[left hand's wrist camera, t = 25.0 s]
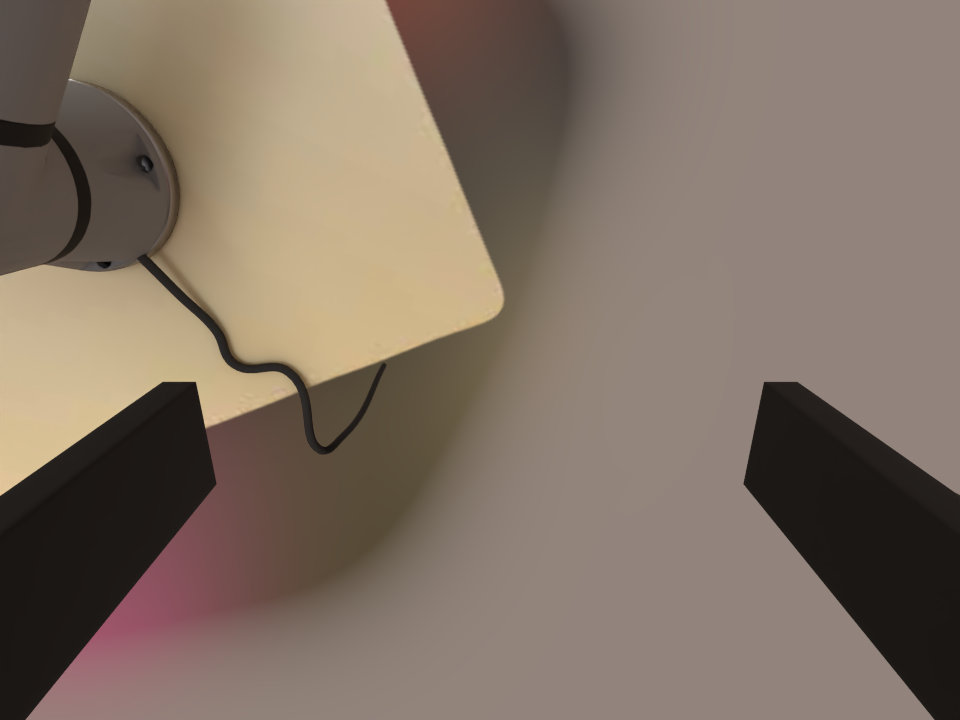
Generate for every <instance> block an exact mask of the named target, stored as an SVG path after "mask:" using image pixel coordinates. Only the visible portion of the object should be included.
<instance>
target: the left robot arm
mask: <svg viewBox="0 0 960 720" xmlns="http://www.w3.org/2000/svg"><path fill="white" fill-rule="evenodd" d="M90 2H91V0H0V276H1V275H4V274H8V273H12V272H16V271H19V270H23V269H27V268H31V267H35V266H38V265H43V264H45V265H51V266H57V267H64V268H70V269H76V270H83V271H95V272H101V271H111V270H117V269H120V268H124V267H127V266H130V265H134V264H136V263H139V262H140V263H141V264H142V265H143V266H144V267H145V268H146V269H147V270H148V271H149V272H150V273H151V274H152V275H153V276H154V277H155V278H156V279H157V280H158V281H159V282H160V283H162V284H163V285H164V286H165V287H166V288H167V289H168V290H169V291H170V292H171V293H172V294H173V295H174V296H175V297H176V298H177V299H178V300H179V301H180V302H181V303H182V304H183V305H184V306H185V307H187V308H188V309H189V310H190V311H191V312H192V313H194V314H195V315H196V316H197V317H198V318H199V319H200V320H201V321H202V322H203V323H204V324H205V325H206V326H207V327H208V328H209V330H210V331H211V332H212V333H213V335H214V336H215V338H216V340H217V343H218V346H219V349H220V352H221V355H222V357H223V359H224V360H225V362H226V363H227V364H228V365H229V366H230V367H232V368H233V369H235V370H237V371H240V372H244V373H260V372H268V371H277V372H281V373H283V374H285V375H286V376H287V377H288V378H289V379H291V380H292V382H293V383H294V384H295V386H296V388H297V390H298V392H299V395H300V398H301V402H302V408H303V417H304V426H305V433H306V437H307V441H308V443H309V445H310V447H311V448H312V449H313V450H314V451H316V452H317V453H319V454H323V455H324V454H329V453H331V452H333V451H334V450H335V449H336V448H337V447H338V446H339V445H340V444H341V443H342V441H343V440H344V439H345V438H346V437H347V436H348V435H349V434H350V433H351V432H352V431H353V430H354V429H355V427H356V426H357V425H358V424H359V422H360V421H361V419H362V418H363V416H364V414H365V413H366V411H367V409H368V407H369V405H370V403H371V400H372V398H373V396H374V393H375V391H376V388H377V386H378V383H379V381H380V379H381V376H382V374H383V372H384V370H385V368H386V364H385V363H382V365H381V367H380V368H379V370H378V372H377V374H376V376H375V378H374V381H373V383H372V385H371V388H370V390H369V392H368V395H367V397H366V399H365V401H364V403H363V405H362V407H361V409H360V411H359V412H358V414H357V415H356V417H355V418H354V420H353V421H352V422H351V423H350V425H349V426H348V427H347V428H346V429H345V430H344V431H343V432H342V433H341V434H340V435H339V436H338V437H337V438H336V439H335V440H334V441H333V442H332V443H331V444H330V445H328V446H326V447H323V446H321V445H320V444H319V443H318V442H317V440H316V438H315V435H314V430H313V423H312V413H311V405H310V400H309V395H308V392H307V389H306V387H305V385H304V383H303V381H302V380H301V378H300V377H299V376H298V375H297V374H296V373H295V372H294V371H293V370H292V369H291V368H289V367H288V366H285V365H283V364H277V363H268V364H259V365H245V364H242V363H240V362H238V361H237V360H235V359H234V358H233V356H232V355H231V353H230V351H229V348H228V344H227V341H226V338H225V336H224V334H223V332H222V331H221V329H220V328H219V326H218V325H217V324H216V323H215V322H214V320H213V319H212V318H211V317H210V316H209V315H208V314H207V313H206V312H205V311H204V310H203V309H201V308H200V307H199V306H198V305H197V304H196V303H195V302H194V301H192V300H191V299H190V298H189V297H188V296H187V295H186V294H185V293H184V292H183V291H182V290H181V289H180V288H179V287H178V286H177V285H176V284H175V283H174V282H173V281H172V280H171V279H170V278H169V277H168V276H167V275H166V274H165V273H164V272H163V271H162V270H161V269H160V268H159V267H158V266H157V265H156V264H155V263H154V262H153V261H152V260H151V259H150V258H149V257H150V256H152V255H153V254H154V253H155V252H157V251H158V250H159V249H160V248H161V247H162V246H163V244H164V243H165V242H166V240H167V239H168V238H169V236H170V234H171V232H172V230H173V228H174V225H175V223H176V219H177V215H178V209H179V185H178V179H177V174H176V170H175V167H174V164H173V161H172V159H171V156H170V154H169V152H168V150H167V148H166V146H165V144H164V142H163V141H162V139H161V137H160V136H159V134H158V133H157V131H156V130H155V129H154V127H153V126H152V125H151V124H150V123H149V121H148V120H147V119H146V118H145V117H144V116H143V115H142V114H141V113H140V112H139V111H138V110H137V109H135V108H134V107H133V106H132V105H131V104H129V103H128V102H127V101H125V100H124V99H122V98H121V97H119V96H117V95H116V94H114V93H112V92H110V91H108V90H106V89H104V88H102V87H99V86H96V85H94V84H90V83H86V82H82V81H77V80H72V79H69V75H70V72H71V68H72V65H73V61H74V58H75V54H76V51H77V47H78V44H79V41H80V37H81V34H82V30H83V27H84V23H85V20H86V16H87V13H88V9H89V6H90ZM215 485H216V479H215V474H214V469H213V464H212V459H211V454H210V449H209V445H208V440H207V435H206V430H205V425H204V420H203V415H202V410H201V405H200V400H199V395H198V390H197V385H196V382H162V383H161V384H159V385H158V386H156V387H155V388H153V389H152V390H151V391H149V392H148V393H146V394H145V395H143V396H142V397H141V398H139V399H138V400H136V401H135V402H133V403H132V404H131V405H129V406H128V407H126V408H125V409H124V410H122V411H121V412H119V413H118V414H116V415H115V416H114V417H112V418H111V419H109V420H108V421H106V422H105V423H104V424H102V425H101V426H99V427H98V428H96V429H95V430H94V431H92V432H91V433H89V434H88V435H87V436H85V437H84V438H82V439H81V440H79V441H78V442H77V443H75V444H74V445H72V446H71V447H69V448H68V449H67V450H65V451H64V452H62V453H61V454H59V455H58V456H57V457H55V458H54V459H52V460H51V461H49V462H48V463H47V464H45V465H44V466H42V467H41V468H40V469H38V470H37V471H35V472H34V473H32V474H31V475H30V476H28V477H27V478H25V479H24V480H22V481H21V482H20V483H18V484H17V485H15V486H14V487H12V488H11V489H10V490H8V491H7V492H5V493H4V494H3V495H1V496H0V720H26V718H27V717H28V716H29V715H30V713H31V712H32V711H33V710H34V708H35V707H36V706H37V705H38V704H39V702H40V701H41V700H42V699H43V697H44V696H45V695H46V694H47V692H48V691H49V690H50V689H51V687H52V686H53V685H54V684H55V682H56V681H57V680H58V679H59V678H60V676H61V675H62V674H63V673H64V671H65V670H66V669H67V668H68V667H69V665H70V664H71V663H72V662H73V660H74V659H75V658H76V657H77V655H78V654H79V653H80V652H81V650H82V649H83V648H84V647H85V646H86V644H87V643H88V642H89V641H90V639H91V638H92V637H93V636H94V634H95V633H96V632H97V631H98V629H99V628H100V627H101V626H102V625H103V623H104V622H105V621H106V620H107V618H108V617H109V616H110V615H111V613H112V612H113V611H114V610H115V609H116V607H117V606H118V605H119V604H120V602H121V601H122V600H123V599H124V597H125V596H126V595H127V594H128V592H129V591H130V590H131V589H132V588H133V586H134V585H135V584H136V583H137V581H138V580H139V579H140V578H141V577H142V575H143V574H144V573H145V572H146V570H147V569H148V568H149V567H150V565H151V564H152V563H153V562H154V560H155V559H156V558H157V557H158V555H159V554H160V553H161V552H162V551H163V549H164V548H165V547H166V546H167V544H168V543H169V542H170V541H171V540H172V538H173V537H174V536H175V535H176V533H177V532H178V531H179V530H180V528H181V527H182V526H183V525H184V523H185V522H186V521H187V520H188V519H189V517H190V516H191V515H192V514H193V512H194V511H195V510H196V509H197V507H198V506H199V505H200V504H201V503H202V501H203V500H204V499H205V498H206V496H207V495H208V494H209V493H210V491H211V490H212V489H213V488H214V486H215ZM744 485H745V486H746V488H747V489H748V490H749V491H750V493H751V494H752V495H753V496H754V498H755V499H756V500H757V501H758V502H759V504H760V505H761V506H762V507H763V509H764V510H765V511H766V512H767V514H768V515H769V516H770V517H771V519H772V520H773V521H774V522H775V523H776V525H777V526H778V527H779V528H780V530H781V531H782V532H783V533H784V535H785V536H786V537H787V538H788V540H789V541H790V542H791V543H792V544H793V546H794V547H795V548H796V549H797V551H798V552H799V553H800V554H801V556H802V557H803V558H804V559H805V560H806V562H807V563H808V564H809V565H810V567H811V568H812V569H813V570H814V572H815V573H816V574H817V575H818V576H819V578H820V579H821V580H822V581H823V583H824V584H825V585H826V586H827V588H828V589H829V590H830V591H831V593H832V594H833V595H834V596H835V597H836V599H837V600H838V601H839V602H840V604H841V605H842V606H843V607H844V609H845V610H846V611H847V612H848V614H849V615H850V616H851V617H852V618H853V620H854V621H855V622H856V623H857V625H858V626H859V627H860V628H861V630H862V631H863V632H864V633H865V634H866V636H867V637H868V638H869V639H870V641H871V642H872V643H873V644H874V646H875V647H876V648H877V649H878V650H879V652H880V653H881V654H882V655H883V657H884V658H885V659H886V660H887V662H888V663H889V664H890V665H891V667H892V668H893V669H894V670H895V671H896V673H897V674H898V675H899V676H900V678H901V679H902V680H903V681H904V682H905V684H906V685H907V686H908V687H909V689H910V690H911V691H912V692H913V694H914V695H915V696H916V697H917V699H918V700H919V701H920V702H921V703H922V705H923V706H924V707H925V708H926V710H927V711H928V712H929V713H930V715H931V716H932V717H933V718H934V720H960V495H959V494H957V493H955V492H953V491H952V490H950V489H949V488H947V487H946V486H945V485H943V484H942V483H940V482H939V481H938V480H936V479H935V478H933V477H932V476H930V475H929V474H928V473H926V472H925V471H923V470H922V469H920V468H919V467H918V466H916V465H915V464H913V463H912V462H910V461H909V460H908V459H906V458H905V457H903V456H902V455H900V454H899V453H898V452H896V451H895V450H893V449H892V448H891V447H889V446H888V445H886V444H885V443H883V442H882V441H881V440H879V439H878V438H876V437H875V436H873V435H872V434H871V433H869V432H868V431H866V430H865V429H863V428H862V427H861V426H859V425H858V424H856V423H855V422H854V421H852V420H851V419H849V418H848V417H846V416H845V415H844V414H842V413H841V412H839V411H838V410H836V409H835V408H834V407H832V406H831V405H829V404H828V403H826V402H825V401H824V400H822V399H821V398H819V397H818V396H817V395H815V394H814V393H812V392H811V391H809V390H808V389H807V388H805V387H804V386H802V385H801V384H799V383H798V382H764V385H763V390H762V395H761V400H760V405H759V410H758V415H757V420H756V425H755V430H754V435H753V440H752V445H751V450H750V454H749V459H748V464H747V469H746V475H745V479H744Z"/></svg>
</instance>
